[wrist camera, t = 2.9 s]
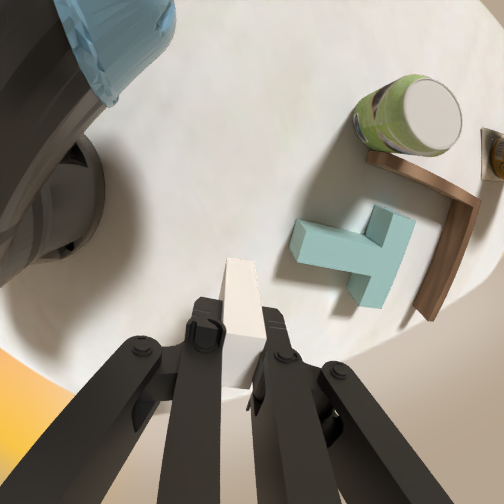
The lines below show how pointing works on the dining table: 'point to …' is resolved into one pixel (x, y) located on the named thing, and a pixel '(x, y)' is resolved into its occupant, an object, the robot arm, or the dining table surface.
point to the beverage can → (409, 117)
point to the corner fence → (452, 235)
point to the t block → (357, 252)
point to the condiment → (492, 155)
